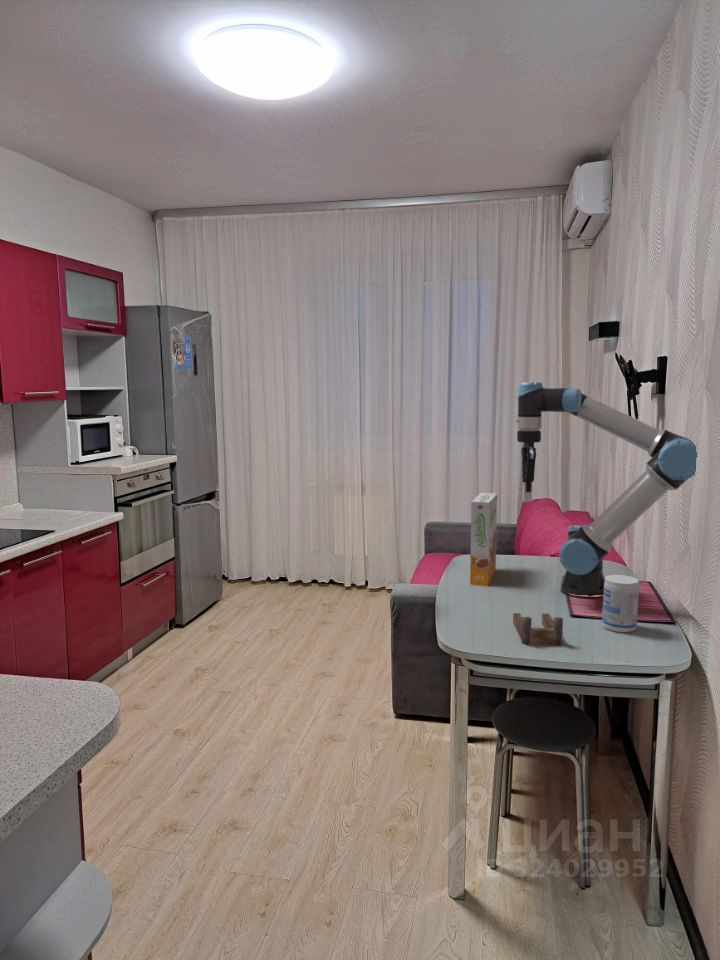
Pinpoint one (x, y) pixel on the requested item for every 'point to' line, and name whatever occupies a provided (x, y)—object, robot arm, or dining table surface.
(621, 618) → the supplement tub
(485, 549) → the cereal box
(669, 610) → the dining table surface
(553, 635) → the guide channel
